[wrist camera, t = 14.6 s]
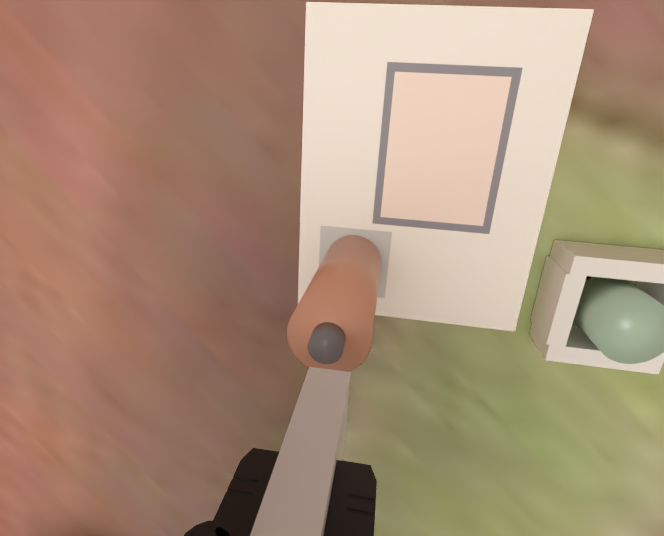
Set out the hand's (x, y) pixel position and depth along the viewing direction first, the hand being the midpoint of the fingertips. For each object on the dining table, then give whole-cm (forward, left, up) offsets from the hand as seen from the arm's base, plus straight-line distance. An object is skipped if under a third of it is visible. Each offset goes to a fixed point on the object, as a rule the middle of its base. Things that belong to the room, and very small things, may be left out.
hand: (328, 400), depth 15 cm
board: (+3, +6, -17) cm, 18 cm away
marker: (-1, 0, -15) cm, 15 cm away
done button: (+16, -1, -15) cm, 22 cm away
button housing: (+16, -1, -17) cm, 23 cm away
